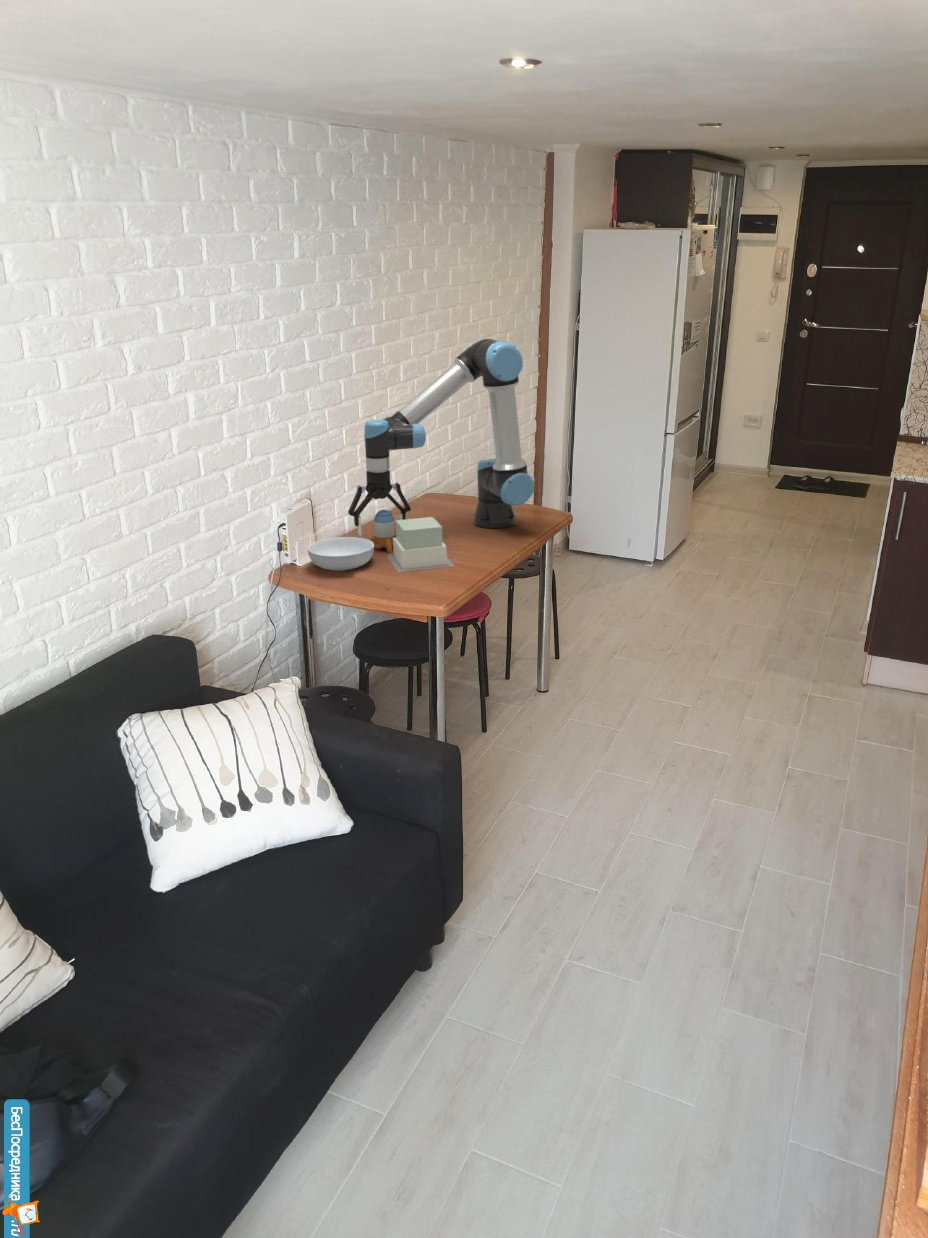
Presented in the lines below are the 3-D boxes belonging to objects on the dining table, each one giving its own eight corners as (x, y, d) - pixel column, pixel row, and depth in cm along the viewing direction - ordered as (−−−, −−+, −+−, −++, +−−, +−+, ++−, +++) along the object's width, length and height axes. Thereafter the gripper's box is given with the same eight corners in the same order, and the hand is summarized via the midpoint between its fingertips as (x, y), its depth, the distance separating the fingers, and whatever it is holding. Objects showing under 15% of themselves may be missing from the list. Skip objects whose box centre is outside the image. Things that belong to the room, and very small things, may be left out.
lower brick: (435, 551, 308) (435, 533, 306) (446, 564, 295) (446, 546, 293) (393, 555, 304) (392, 537, 302) (402, 569, 292) (402, 550, 290)
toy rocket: (397, 559, 307) (386, 517, 300) (367, 563, 310) (354, 521, 303) (404, 545, 316) (393, 504, 309) (374, 549, 319) (363, 508, 312)
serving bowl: (387, 560, 304) (386, 539, 301) (354, 580, 286) (352, 559, 283) (331, 553, 312) (329, 533, 309) (295, 572, 294) (293, 551, 292)
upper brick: (433, 534, 305) (432, 516, 302) (442, 545, 294) (442, 526, 292) (396, 538, 302) (395, 520, 299) (404, 549, 291) (403, 530, 289)
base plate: (440, 552, 311) (440, 549, 310) (454, 569, 294) (454, 565, 294) (386, 557, 306) (386, 554, 306) (398, 575, 290) (397, 571, 290)
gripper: (413, 464, 309) (415, 527, 317) (337, 469, 302) (340, 533, 310) (418, 469, 302) (420, 533, 310) (340, 474, 296) (344, 540, 304)
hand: (380, 534), depth 310 cm, fingers open, 13 cm apart
